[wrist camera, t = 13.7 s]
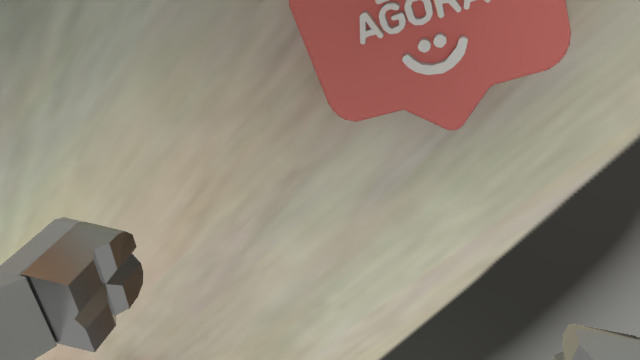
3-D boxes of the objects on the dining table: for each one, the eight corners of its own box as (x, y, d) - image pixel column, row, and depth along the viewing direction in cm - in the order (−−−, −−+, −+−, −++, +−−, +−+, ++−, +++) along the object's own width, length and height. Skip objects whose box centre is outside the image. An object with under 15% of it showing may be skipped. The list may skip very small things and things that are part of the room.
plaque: (348, 159, 42) (275, -18, 35) (356, 138, 45) (290, -28, 38) (583, 102, 35) (544, -131, 28) (573, 82, 38) (536, -131, 32)
